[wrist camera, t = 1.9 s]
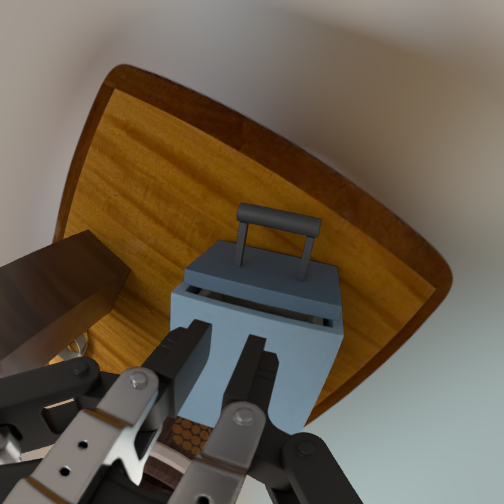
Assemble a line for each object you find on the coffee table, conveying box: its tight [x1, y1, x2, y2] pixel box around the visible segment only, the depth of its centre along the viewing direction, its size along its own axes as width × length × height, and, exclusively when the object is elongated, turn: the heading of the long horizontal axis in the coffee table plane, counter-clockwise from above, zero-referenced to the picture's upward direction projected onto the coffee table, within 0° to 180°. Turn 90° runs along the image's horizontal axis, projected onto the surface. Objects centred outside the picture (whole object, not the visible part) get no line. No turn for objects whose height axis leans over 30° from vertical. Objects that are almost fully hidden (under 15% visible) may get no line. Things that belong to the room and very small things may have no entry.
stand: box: [0, 230, 130, 378], centre depth 25 cm, size 8×8×20 cm
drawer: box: [184, 203, 343, 326], centre depth 25 cm, size 18×11×8 cm, turn 171°
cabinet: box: [170, 281, 344, 435], centre depth 26 cm, size 15×13×10 cm
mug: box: [139, 415, 214, 494], centre depth 31 cm, size 20×15×15 cm
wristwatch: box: [57, 334, 88, 360], centre depth 37 cm, size 9×6×5 cm
